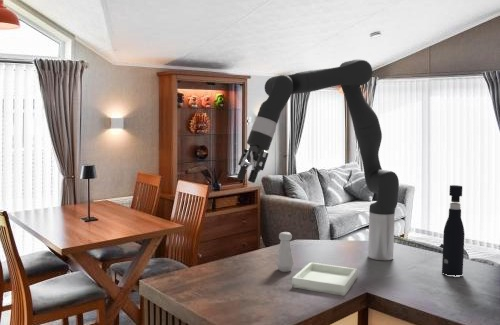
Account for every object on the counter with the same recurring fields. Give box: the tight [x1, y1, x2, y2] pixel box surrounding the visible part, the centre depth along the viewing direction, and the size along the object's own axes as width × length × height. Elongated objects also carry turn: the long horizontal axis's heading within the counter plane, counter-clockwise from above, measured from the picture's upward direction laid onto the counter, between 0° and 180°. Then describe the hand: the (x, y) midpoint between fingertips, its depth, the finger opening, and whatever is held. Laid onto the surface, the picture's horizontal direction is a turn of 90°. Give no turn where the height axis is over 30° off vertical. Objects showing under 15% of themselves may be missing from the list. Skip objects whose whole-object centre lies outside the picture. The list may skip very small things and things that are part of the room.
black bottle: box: [441, 184, 465, 276], centre depth 151 cm, size 6×6×30 cm
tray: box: [291, 261, 358, 297], centre depth 143 cm, size 18×16×3 cm
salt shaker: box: [276, 231, 294, 273], centre depth 155 cm, size 6×6×13 cm
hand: (245, 180), depth 146 cm, fingers open, 8 cm apart
